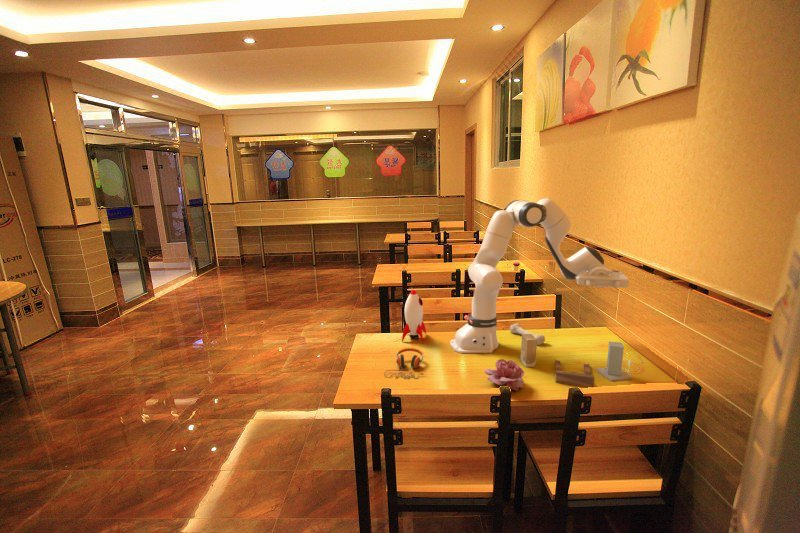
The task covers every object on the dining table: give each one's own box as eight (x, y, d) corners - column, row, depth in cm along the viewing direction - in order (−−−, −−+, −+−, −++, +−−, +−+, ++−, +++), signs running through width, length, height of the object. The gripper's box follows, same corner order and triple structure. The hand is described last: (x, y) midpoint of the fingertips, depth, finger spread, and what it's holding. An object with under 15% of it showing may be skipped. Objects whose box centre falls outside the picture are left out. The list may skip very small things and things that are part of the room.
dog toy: (547, 344, 190) (547, 334, 188) (537, 347, 187) (537, 337, 186) (517, 330, 207) (517, 321, 206) (508, 332, 205) (508, 323, 204)
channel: (555, 362, 171) (555, 353, 170) (589, 366, 167) (589, 357, 166) (555, 382, 155) (556, 372, 154) (593, 387, 150) (593, 377, 149)
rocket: (423, 343, 194) (422, 293, 189) (401, 342, 196) (400, 292, 191) (426, 334, 205) (426, 286, 199) (405, 333, 207) (404, 286, 201)
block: (606, 369, 162) (609, 341, 159) (619, 370, 161) (621, 342, 158) (607, 374, 158) (610, 345, 155) (620, 376, 156) (623, 347, 154)
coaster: (610, 381, 154) (610, 379, 154) (595, 370, 163) (595, 368, 163) (631, 378, 156) (632, 377, 156) (615, 368, 164) (616, 366, 164)
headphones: (382, 372, 160) (392, 342, 178) (383, 383, 163) (393, 352, 180) (424, 375, 157) (430, 344, 175) (424, 386, 159) (430, 354, 177)
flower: (489, 390, 145) (497, 363, 144) (479, 375, 159) (486, 351, 159) (528, 399, 146) (536, 373, 145) (515, 384, 160) (522, 360, 160)
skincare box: (520, 360, 173) (521, 334, 171) (529, 360, 174) (531, 333, 171) (525, 367, 167) (527, 339, 164) (536, 367, 167) (537, 339, 165)
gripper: (575, 269, 184) (577, 276, 172) (626, 271, 177) (631, 279, 165) (574, 282, 186) (576, 290, 173) (624, 285, 179) (630, 294, 166)
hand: (603, 285), depth 169 cm, fingers open, 8 cm apart
